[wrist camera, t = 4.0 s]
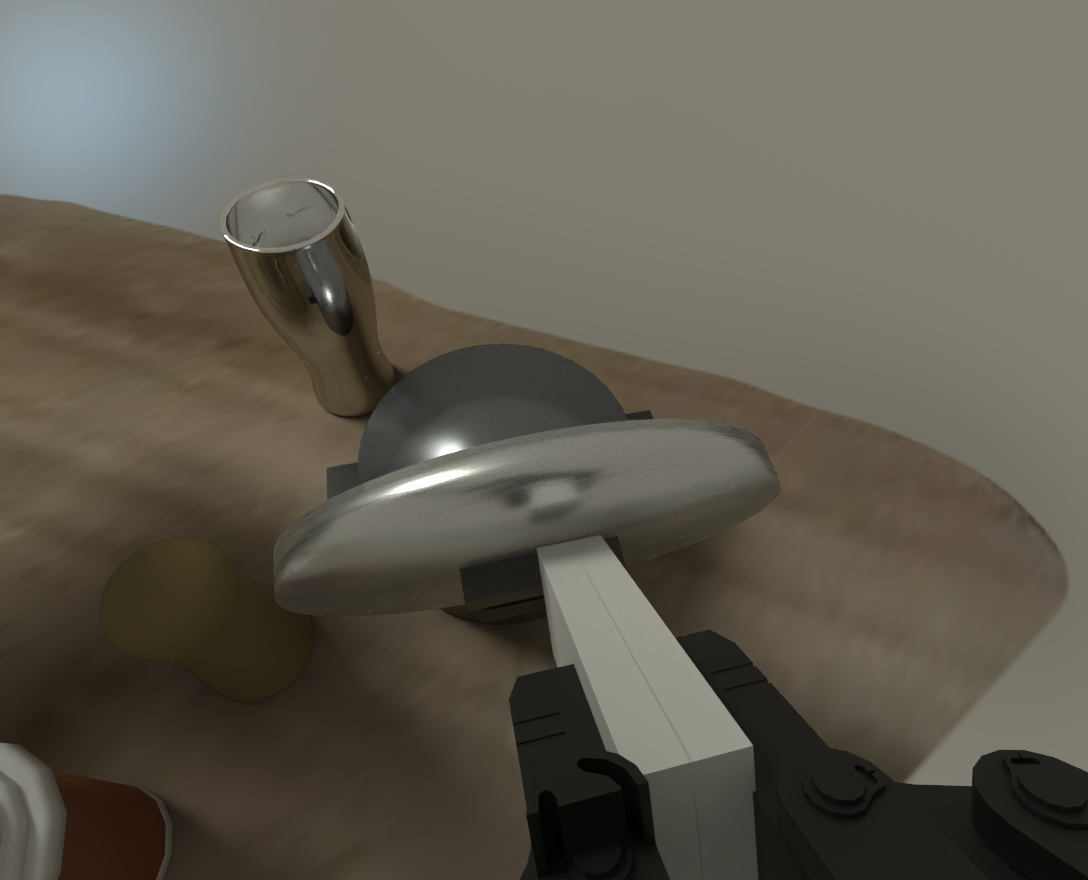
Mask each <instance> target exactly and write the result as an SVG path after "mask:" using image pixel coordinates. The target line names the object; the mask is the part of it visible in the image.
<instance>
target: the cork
mask: <svg viewBox="0 0 1088 880" xmlns="http://www.w3.org/2000/svg"><path fill="white" fill-rule="evenodd" d="M100 619H101V623H102V626H103V630H104V633H105V634H106V635H107V637H108V638H109V639H110V640H111V641H112V642H113V643H114V644H115V645H116V646H117V647H118V648H119V650H120V651H122V652H125V653H127V654H130V655H132V656H135V657H137V658H140V659H143V660H174V661H176V662H177V663H178V664H180V665H181V666H182V667H184V668H185V669H187V670H188V671H189V672H191V673H192V674H193V675H195V676H196V677H197V678H199V679H200V680H202V681H203V682H204V683H206V684H207V685H208V686H210V687H211V688H212V689H214V690H215V691H217V692H218V693H219V694H221V695H222V696H225V697H227V698H229V699H232V700H234V701H239V702H255V701H258V700H261V699H264V698H267V697H271V696H273V695H274V694H276V693H277V692H279V691H280V690H282V689H284V688H285V687H287V686H288V685H289V684H290V683H291V682H292V681H293V680H294V679H295V678H296V677H297V675H298V674H299V673H300V672H301V671H302V669H303V668H304V666H305V664H306V662H307V660H308V658H309V656H310V655H311V650H312V646H313V641H314V627H313V621H312V619H311V616H310V615H305V614H300V613H296V612H291V611H289V610H286V609H284V608H282V607H281V606H279V605H278V604H277V603H276V601H275V595H274V590H273V589H270V588H268V587H266V586H263V585H261V584H258V583H256V582H253V581H251V580H249V579H246V578H244V577H241V576H239V575H238V572H237V570H236V568H235V565H234V563H233V561H232V560H231V559H230V558H229V557H228V556H227V555H226V554H225V553H224V552H223V551H222V550H220V549H219V548H218V547H217V546H216V545H213V544H210V543H207V542H205V541H202V540H199V539H195V538H172V539H168V540H164V541H160V542H156V543H153V544H150V545H148V546H146V547H144V548H142V549H140V550H139V551H137V552H135V553H134V554H132V555H131V556H130V557H129V558H128V559H126V560H125V561H124V562H123V563H122V564H120V566H119V567H118V568H117V569H116V571H115V572H114V573H113V575H112V576H111V577H110V578H109V580H108V582H107V584H106V587H105V589H104V591H103V593H102V597H101V606H100Z"/></svg>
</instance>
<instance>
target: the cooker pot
mask: <svg viewBox="0 0 1088 880" xmlns="http://www.w3.org/2000/svg"><path fill="white" fill-rule="evenodd" d="M648 419H653V417H652V415H651V412H650V410H648V411H642V412H637V413H631V414H625V413H624V411H623V409H622V407H621V406H620V404H619V402H618V401H617V399H616V398H615V396H614V395H613V394H612V393H611V392H610V390H609V389H608V388H607V387H606V386H605V385H604V384H603V383H602V382H601V381H600V380H599V379H598V378H597V377H596V376H595V375H593V374H592V373H590V372H589V371H588V370H586V369H585V368H584V367H582V366H580V365H579V364H577V363H575V362H573V361H571V360H570V359H568V358H565V357H563V356H561V355H558V354H556V353H553V352H550V351H546V350H543V349H540V348H535V347H530V346H525V345H515V344H488V345H478V346H472V347H468V348H463V349H459V350H456V351H452V352H449V353H446V354H444V355H441V356H439V357H437V358H434V359H432V360H430V361H428V362H426V363H424V364H423V365H421V366H419V367H417V368H416V369H414V370H413V371H411V372H410V373H409V374H407V375H406V376H404V377H403V378H402V379H401V380H400V381H399V382H398V383H396V384H395V385H394V386H393V387H392V388H391V389H390V390H389V392H388V393H387V394H386V395H385V396H384V397H383V398H382V400H381V401H380V402H379V404H378V405H377V407H376V408H375V410H374V411H373V413H372V415H371V417H370V419H369V421H368V423H367V425H366V428H365V431H364V434H363V437H362V440H361V444H360V450H359V455H358V463H352V464H347V465H341V466H336V467H330V468H327V500H329V499H331V498H333V497H335V496H337V495H339V494H341V493H343V492H345V491H348V490H350V489H352V488H354V487H356V486H358V485H361V484H363V483H365V482H368V481H370V480H373V479H375V478H378V477H381V476H383V475H386V474H388V473H391V472H394V471H396V470H399V469H402V468H404V467H407V466H411V465H414V464H417V463H420V462H423V461H426V460H430V459H433V458H436V457H439V456H442V455H445V454H449V453H453V452H456V451H460V450H464V449H468V448H472V447H476V446H480V445H483V444H487V443H491V442H495V441H500V440H505V439H509V438H514V437H519V436H524V435H529V434H534V433H539V432H543V431H550V430H556V429H563V428H569V427H576V426H582V425H589V424H598V423H608V422H618V421H629V420H648ZM440 609H442V610H443V611H445V612H447V613H449V614H452V615H454V616H457V617H459V618H461V619H465V620H469V621H473V622H477V623H482V624H483V623H484V624H493V625H502V624H516V623H522V622H528V621H531V620H535V619H538V618H542V617H544V616H547V612H546V605H545V599H544V595H541V596H536V597H532V598H527V599H523V600H518V601H514V602H509V603H505V604H500V605H496V606H491V607H487V608H482V609H478V610H473V611H470V610H469V608H468V607H467V605H466V604H465V605H458V606H452V607H445V608H440Z"/></svg>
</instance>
